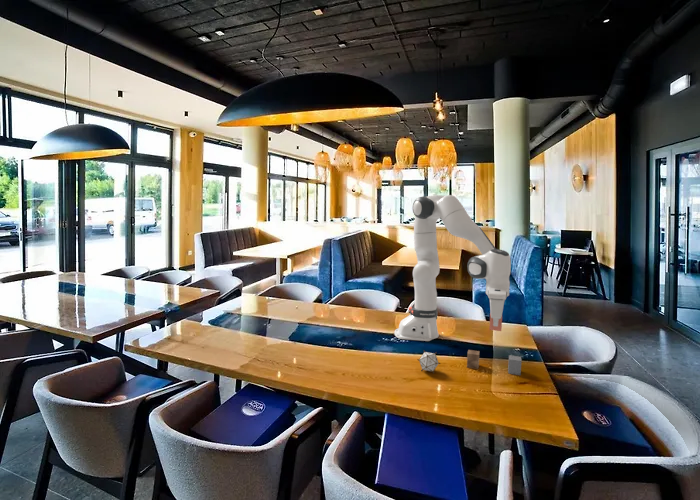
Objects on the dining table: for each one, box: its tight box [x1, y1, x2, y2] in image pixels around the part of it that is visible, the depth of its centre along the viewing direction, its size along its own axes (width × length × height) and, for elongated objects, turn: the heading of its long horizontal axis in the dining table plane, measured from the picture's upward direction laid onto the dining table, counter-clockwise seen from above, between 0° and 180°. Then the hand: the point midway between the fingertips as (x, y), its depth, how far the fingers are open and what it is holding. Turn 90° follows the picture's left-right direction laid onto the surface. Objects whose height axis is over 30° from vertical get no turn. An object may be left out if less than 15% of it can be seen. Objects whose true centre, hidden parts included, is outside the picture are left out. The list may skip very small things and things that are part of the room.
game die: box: [417, 349, 442, 374], centre depth 158 cm, size 9×8×10 cm
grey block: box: [507, 354, 522, 376], centre depth 158 cm, size 4×4×6 cm
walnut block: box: [466, 349, 480, 370], centre depth 164 cm, size 4×4×6 cm
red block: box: [489, 311, 503, 332], centre depth 159 cm, size 4×4×6 cm
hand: (495, 323), depth 159 cm, fingers closed on red block, 4 cm apart
